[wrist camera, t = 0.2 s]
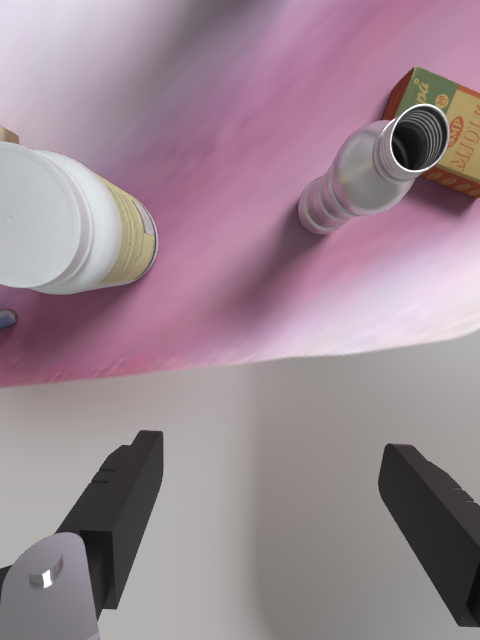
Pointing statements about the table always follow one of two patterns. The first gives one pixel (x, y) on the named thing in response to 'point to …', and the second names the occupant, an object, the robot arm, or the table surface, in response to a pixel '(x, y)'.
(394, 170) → the plastic bottle
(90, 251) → the supplement tub
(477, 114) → the carton
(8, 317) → the flask
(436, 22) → the table surface
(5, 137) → the beech cube
